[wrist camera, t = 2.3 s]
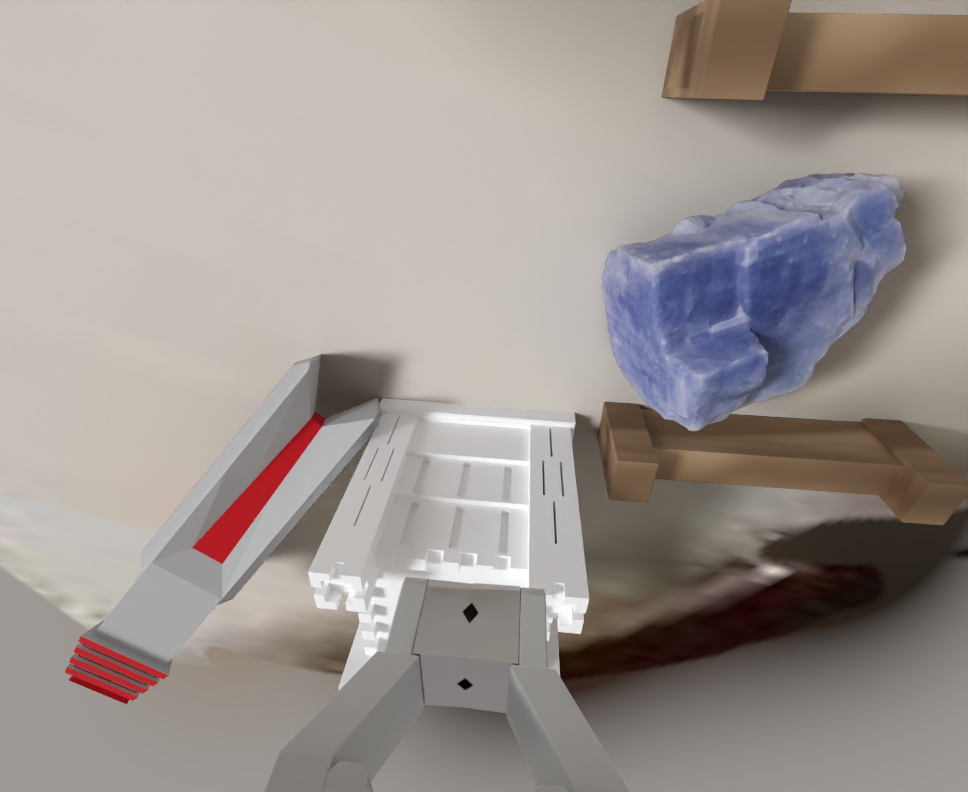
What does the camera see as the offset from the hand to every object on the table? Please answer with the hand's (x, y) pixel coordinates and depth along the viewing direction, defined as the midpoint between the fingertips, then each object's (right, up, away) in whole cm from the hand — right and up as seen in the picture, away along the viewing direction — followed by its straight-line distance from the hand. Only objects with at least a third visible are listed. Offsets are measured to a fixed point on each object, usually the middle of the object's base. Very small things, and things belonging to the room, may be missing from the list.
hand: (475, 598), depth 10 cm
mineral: (+14, +12, +18) cm, 26 cm away
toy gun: (-19, -2, +31) cm, 36 cm away
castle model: (0, -2, +29) cm, 29 cm away
